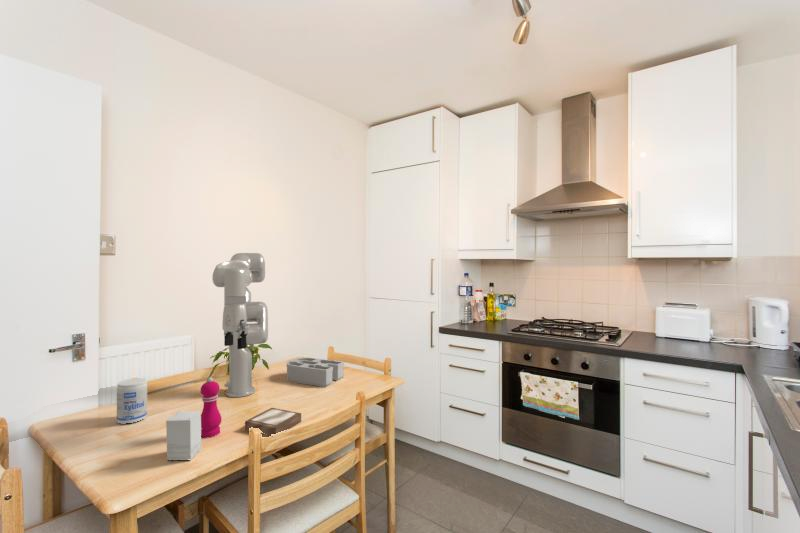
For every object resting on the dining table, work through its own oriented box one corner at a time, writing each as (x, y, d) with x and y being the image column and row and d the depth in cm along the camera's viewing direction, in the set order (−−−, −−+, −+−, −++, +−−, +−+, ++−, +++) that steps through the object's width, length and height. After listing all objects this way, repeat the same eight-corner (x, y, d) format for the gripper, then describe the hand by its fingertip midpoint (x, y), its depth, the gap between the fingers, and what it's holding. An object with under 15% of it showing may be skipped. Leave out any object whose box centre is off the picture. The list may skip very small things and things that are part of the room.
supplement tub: (124, 427, 140) (124, 387, 140) (111, 421, 145) (111, 383, 145) (152, 417, 149) (152, 380, 149) (139, 413, 154) (139, 376, 153)
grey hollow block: (326, 388, 185) (326, 370, 185) (279, 380, 196) (279, 363, 196) (344, 378, 200) (344, 362, 200) (300, 372, 211) (300, 356, 211)
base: (244, 430, 139) (244, 420, 138) (271, 415, 151) (271, 407, 151) (276, 437, 133) (276, 427, 133) (301, 421, 146) (301, 412, 146)
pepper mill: (212, 439, 131) (212, 381, 131) (193, 437, 133) (193, 379, 132) (226, 430, 138) (225, 375, 138) (208, 428, 140) (208, 373, 139)
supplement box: (202, 449, 125) (202, 410, 124) (190, 461, 117) (190, 420, 117) (178, 449, 124) (178, 410, 124) (165, 461, 117) (165, 420, 117)
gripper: (214, 300, 147) (214, 345, 147) (237, 302, 136) (237, 351, 136) (233, 299, 153) (233, 342, 153) (256, 301, 142) (256, 348, 142)
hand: (235, 346), depth 144 cm, fingers open, 9 cm apart
